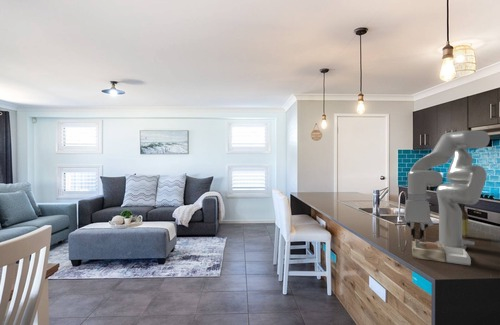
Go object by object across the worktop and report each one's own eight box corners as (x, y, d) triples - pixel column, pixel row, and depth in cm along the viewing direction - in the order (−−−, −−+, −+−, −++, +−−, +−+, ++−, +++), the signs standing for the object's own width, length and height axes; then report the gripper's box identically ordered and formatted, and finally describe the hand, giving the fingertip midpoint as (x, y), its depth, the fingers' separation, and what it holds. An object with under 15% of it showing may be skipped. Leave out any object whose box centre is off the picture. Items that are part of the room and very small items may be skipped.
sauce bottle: (462, 235, 162) (462, 200, 162) (471, 238, 155) (471, 202, 155) (451, 235, 161) (451, 200, 161) (460, 238, 155) (459, 202, 155)
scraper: (420, 242, 133) (419, 221, 133) (420, 247, 125) (420, 225, 125) (414, 242, 134) (414, 221, 134) (414, 247, 126) (414, 224, 126)
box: (464, 255, 126) (464, 249, 126) (470, 265, 114) (470, 258, 114) (442, 252, 130) (442, 246, 130) (446, 262, 118) (446, 255, 118)
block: (436, 246, 127) (436, 242, 127) (437, 248, 123) (437, 245, 123) (425, 244, 130) (425, 241, 130) (425, 247, 126) (425, 244, 126)
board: (441, 252, 130) (441, 244, 130) (445, 262, 118) (445, 252, 118) (411, 249, 136) (411, 240, 136) (412, 257, 124) (412, 248, 124)
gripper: (437, 197, 129) (437, 237, 129) (397, 196, 136) (397, 233, 136) (438, 199, 122) (439, 241, 122) (397, 197, 130) (397, 237, 130)
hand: (417, 237), depth 129 cm, fingers closed on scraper, 2 cm apart
